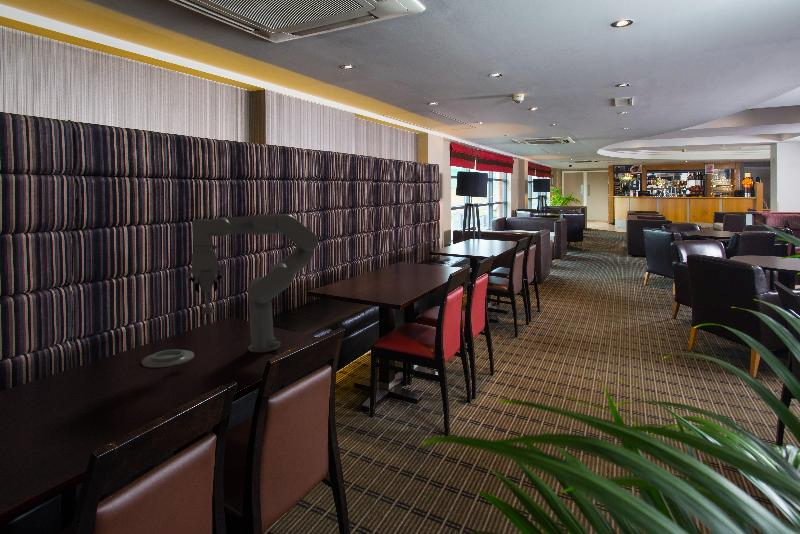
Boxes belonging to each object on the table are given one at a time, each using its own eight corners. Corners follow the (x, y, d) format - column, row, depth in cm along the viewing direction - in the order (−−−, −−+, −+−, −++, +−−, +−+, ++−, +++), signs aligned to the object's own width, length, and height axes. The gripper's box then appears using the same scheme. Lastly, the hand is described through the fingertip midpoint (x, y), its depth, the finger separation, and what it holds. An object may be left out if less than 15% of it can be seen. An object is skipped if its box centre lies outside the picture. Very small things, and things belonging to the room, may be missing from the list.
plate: (204, 354, 217) (204, 348, 216) (168, 369, 198) (167, 364, 198) (168, 350, 224) (167, 345, 223) (130, 364, 205) (129, 359, 205)
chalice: (220, 310, 216) (217, 269, 213) (212, 314, 209) (209, 271, 206) (203, 310, 216) (200, 269, 214) (196, 314, 210) (192, 271, 207)
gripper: (224, 247, 216) (227, 288, 218) (180, 249, 209) (184, 292, 211) (226, 248, 209) (229, 291, 212) (181, 251, 202) (184, 295, 204)
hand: (206, 291), depth 211 cm, fingers closed on chalice, 6 cm apart
